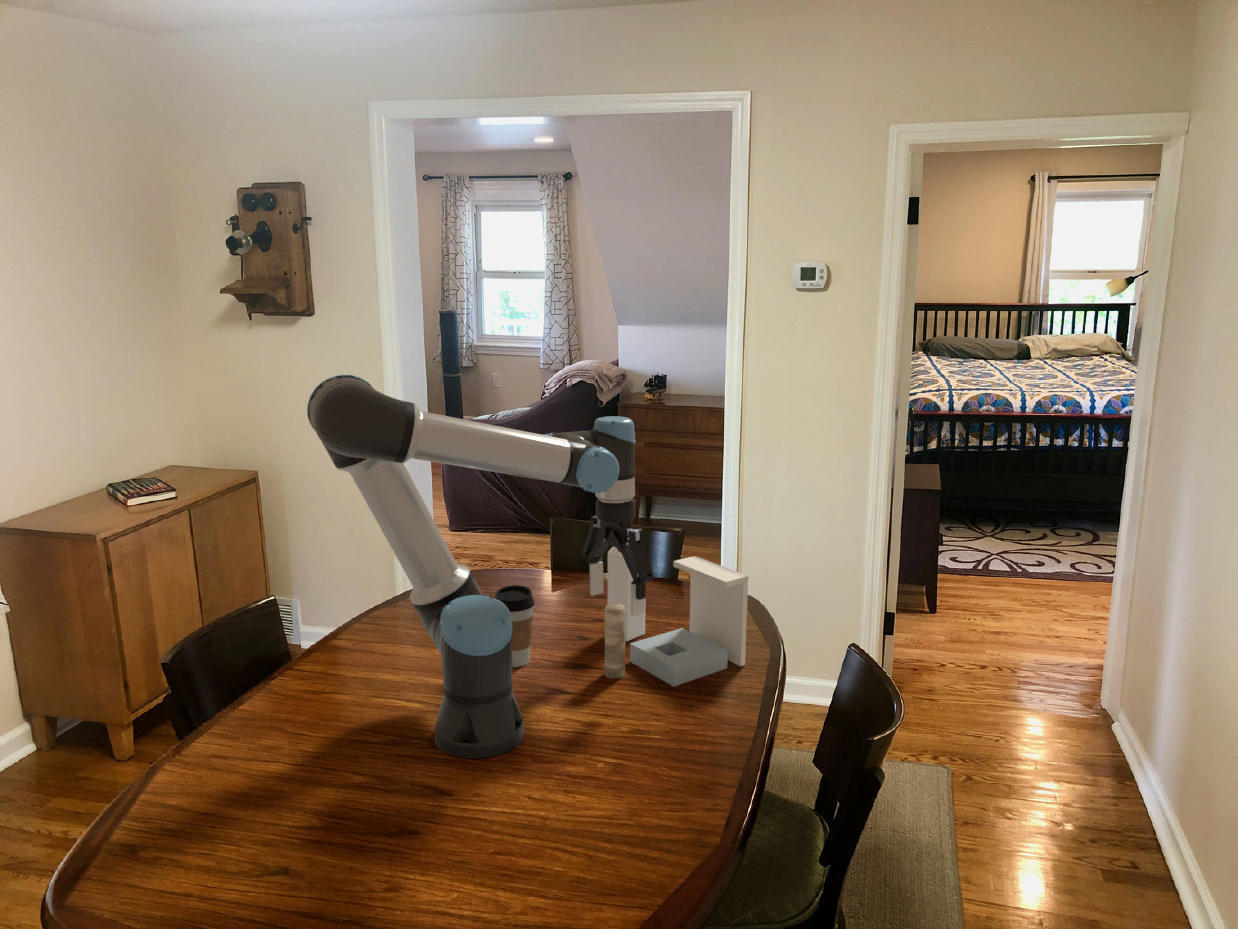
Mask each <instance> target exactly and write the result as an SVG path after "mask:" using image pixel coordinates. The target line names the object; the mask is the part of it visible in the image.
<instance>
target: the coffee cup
mask: <svg viewBox="0 0 1238 929" xmlns="http://www.w3.org/2000/svg"><path fill="white" fill-rule="evenodd" d="M494 598H495V599H497V600H499V601H501V602H502V603H504V604H505V605H506V607H507V608H508V610H509V612H510V617H511V622H512V668H518V667H519V668H520V667H524V666H526V665H527V664H528V663H529V662H530V659H531V644H532V643H531V642H532V631H533V622H534V621H533V620H534V613H533V607H534V606H535V599H534V598H533V592H532V589H530V588H529V587H528V586H524V585H521V584H520V585H517V584H516V585H506V586H504V587H501V588H499V589H498V590H497V591H496V592H495V594H494Z"/></svg>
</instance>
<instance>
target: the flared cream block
mask: <svg viewBox="0 0 1238 929" xmlns="http://www.w3.org/2000/svg"><path fill="white" fill-rule="evenodd" d="M673 568H675V569H678V570H681V571H683V572H686V573H688V574H690V587H689V588H690V589H689V590H690V592H689V594H690V595H689V601H690V602H689V631H690V632H692V633H694V634H696V635H699V636H701V637H703V638H705V639H707V640H709V641H711V642H713V643H715V644H717V645H719V646H721V647H723V648H725V649H727V650H728V660H727V661H729V662H730V663H733V664H735V665H737V666H738V667H743V666H746V652H747V651H746V650H747V645H746V644H747V624H748V623H747V620H748V618H747V617H748V595H749V594H748V590H749V589H748V588H749V576H748V575H746V574H743V573H741V572H738V571H736V570H734V569H730V568H728V567H726V566H723V565H720V564H719V563H718V564H717V563H715V562H712V561H709V560H707V559H704V558H702V557H699V556H696V555H693V556H689V557H684V558H682V559H676V560H673Z"/></svg>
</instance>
